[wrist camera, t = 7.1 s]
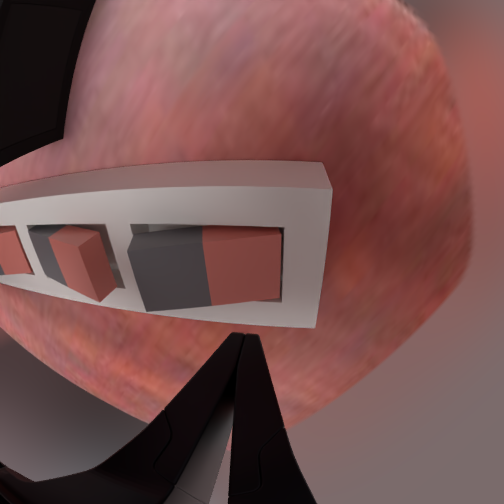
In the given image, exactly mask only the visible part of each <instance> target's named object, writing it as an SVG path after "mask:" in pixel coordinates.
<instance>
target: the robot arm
mask: <svg viewBox="0 0 504 504" xmlns="http://www.w3.org/2000/svg"><path fill="white" fill-rule="evenodd" d="M164 410H165V411H164ZM164 410H162V411H161V412H160V413H159V414H158V415H157V417H156V418H155V419H154V420H153V421H152V422H151V423H150V424H149V425H148V426H147V427H146V428H145V429H144V430H142V431H141V432H140V433H139V434H138V435H137V436H136V437H134V438H133V439H132V440H131V441H130V442H128V443H127V444H126V445H125V446H123V447H122V448H121V449H119V450H118V451H117V452H116V453H114V454H113V455H112V456H110V457H109V458H108V459H106V460H105V461H104V462H102V463H101V464H100V465H98V466H96V467H94V468H92V469H89V470H87V471H84V472H80V473H76V474H72V475H68V476H63V477H59V478H54V479H49V480H44V481H38V482H34V481H32V480H30V479H28V478H27V477H25V476H23V475H21V474H19V473H18V472H16V471H14V470H12V469H10V468H8V467H7V466H6V465H4V464H3V463H2V462H0V504H209V501H210V498H211V495H212V492H213V488H214V485H215V482H216V479H217V476H218V472H219V469H220V466H221V463H222V459H223V456H224V453H225V449H226V446H227V443H228V439H229V436H230V432H231V429H232V444H231V461H230V476H229V493H228V496H229V498H228V504H317V503H316V501H315V499H314V496H313V494H312V492H311V490H310V489H309V487H308V484H307V483H306V480H305V478H304V476H303V474H302V472H301V470H300V468H299V466H298V463H297V461H296V459H295V456H294V454H293V451H292V448H291V446H290V442H289V439H288V436H287V432H286V429H285V428H284V422H283V419H282V415H281V412H280V408H279V405H278V401H277V398H276V394H275V391H274V387H273V383H272V380H271V376H270V373H269V369H268V366H267V362H266V358H265V355H264V351H263V347H262V344H261V340H260V337H259V335H258V334H250V333H247V334H246V335H245V334H244V333H238V332H232V333H231V334H230V335H229V336H228V337H227V338H226V339H225V341H224V342H223V343H222V344H221V345H220V346H219V348H218V349H217V350H216V351H215V352H214V353H213V354H212V356H211V357H210V358H209V359H208V360H207V361H206V362H205V364H204V365H203V366H202V367H201V368H200V369H199V370H198V372H197V373H196V374H195V375H194V376H193V377H192V378H191V379H190V380H189V382H188V383H187V384H186V385H185V386H184V387H183V388H182V389H181V391H180V392H179V393H178V394H177V395H176V396H175V397H174V398H173V399H172V400H171V402H170V403H169V404H168V405H167V406H166V407H165V408H164ZM232 426H233V428H232Z"/></svg>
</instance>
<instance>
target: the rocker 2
mask: <svg viewBox="0 0 504 504" xmlns="http://www.w3.org/2000/svg"><path fill="white" fill-rule="evenodd" d="M28 233H29V236H30V239H31V241H32V244H33V247H34V249H35V252H36V254H37V257H38V259H39V262H40V264H41V266H42V269H43V271H44V273H45V275H46V276H48V277H50V278H51V279H53V280H55V281H57V282H59V283H61V284H63V285H65V286H67V287H69V288H71V289H73V290H75V291H77V292H79V293H81V294H83V295H85V296H87V297H89V298H91V299H93V300H95V301H97V302H99V303H100V302H101V301H102V300H103V299H104V298H106V297H107V296H108V295H109V294H110V293H111V292H112V291H113V290H114V289H115V288H116V287H117V284H116V282H115V279H114V276H113V273H112V270H111V267H110V264H109V261H108V258H107V255H106V252H105V249H104V246H103V242H102V239H101V236H100V232H97V231H93V230H88V229H84V228H79V227H75V226H70V225H65V224H46V225H35V226H34V227H32V228H31V229H29V230H28Z"/></svg>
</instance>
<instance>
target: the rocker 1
mask: <svg viewBox="0 0 504 504" xmlns="http://www.w3.org/2000/svg"><path fill="white" fill-rule="evenodd" d="M32 271H33V269H32V267H31V265H30V262H29V260H28V258H27V255H26V253H25V250H24V248H23V245H22V243H21V240H20V237H19V235H18V232H17V229H16V226H15V225H9V226H0V275H10V274H23V273H32Z"/></svg>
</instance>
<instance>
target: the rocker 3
mask: <svg viewBox="0 0 504 504" xmlns="http://www.w3.org/2000/svg"><path fill="white" fill-rule="evenodd" d="M127 253H128V257H129V260H130V264H131V267H132V270H133V273H134V277H135V280H136V283H137V286H138V289H139V292H140V295H141V298H142V301H143V304H144V307H145V310H146V312H152V311H164V310H176V309H187V308H197V307H207V306H216V305H225V304H234V303H243V302H251V301H259V300H266V299H274V298H279V296H280V266H281V233H280V231H279V229H278V227H263V226H232V225H205V226H196V227H187V228H178V229H170V230H162V231H153V232H145V233H137V234H134V235H133V237H132V240H131V242H130V245H129V247H128V249H127Z"/></svg>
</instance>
